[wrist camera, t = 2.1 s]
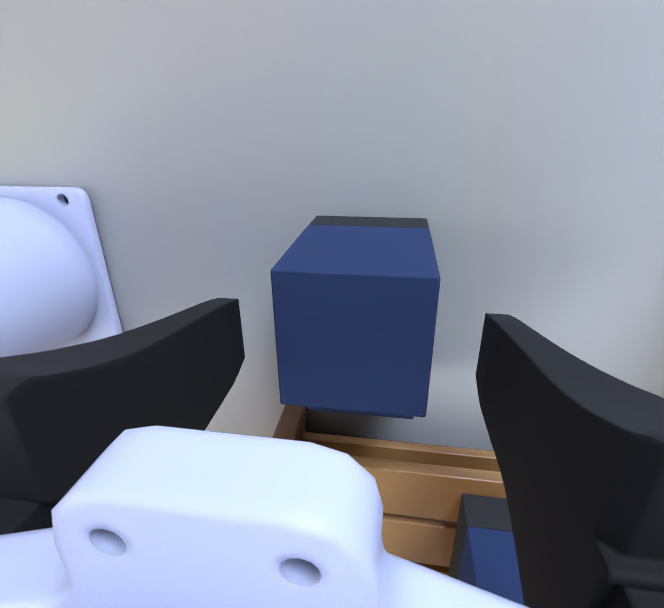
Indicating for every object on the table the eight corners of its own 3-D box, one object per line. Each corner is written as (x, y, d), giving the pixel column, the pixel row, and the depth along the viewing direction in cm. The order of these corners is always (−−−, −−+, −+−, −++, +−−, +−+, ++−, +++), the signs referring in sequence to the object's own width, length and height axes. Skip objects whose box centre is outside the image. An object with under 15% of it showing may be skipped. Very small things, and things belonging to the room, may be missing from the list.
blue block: (316, 215, 17) (269, 269, 11) (427, 218, 16) (440, 277, 10) (319, 362, 20) (285, 467, 14) (414, 369, 19) (418, 482, 13)
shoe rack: (294, 524, 25) (278, 584, 22) (286, 401, 21) (265, 452, 18) (543, 558, 23) (566, 629, 20) (583, 429, 19) (619, 492, 16)
